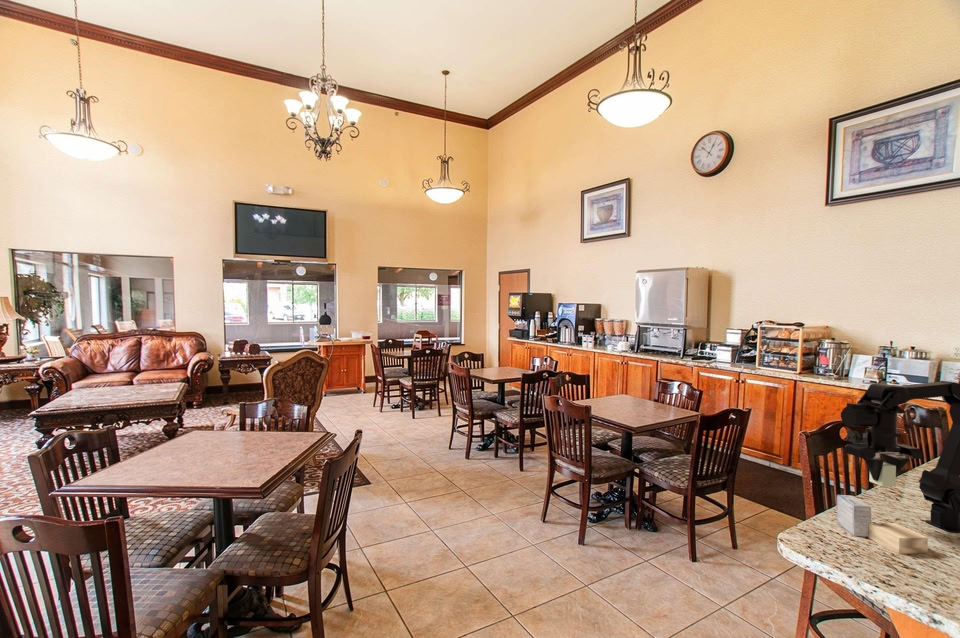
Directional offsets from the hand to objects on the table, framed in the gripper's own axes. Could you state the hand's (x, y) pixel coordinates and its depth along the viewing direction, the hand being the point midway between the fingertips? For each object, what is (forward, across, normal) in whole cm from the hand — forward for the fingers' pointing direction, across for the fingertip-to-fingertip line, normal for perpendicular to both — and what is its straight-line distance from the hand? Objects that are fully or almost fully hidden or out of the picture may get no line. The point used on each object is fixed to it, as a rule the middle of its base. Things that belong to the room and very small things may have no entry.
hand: (882, 480), depth 127 cm
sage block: (+1, 0, 0) cm, 1 cm away
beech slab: (+13, +7, +11) cm, 19 cm away
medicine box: (+14, +12, +3) cm, 18 cm away
